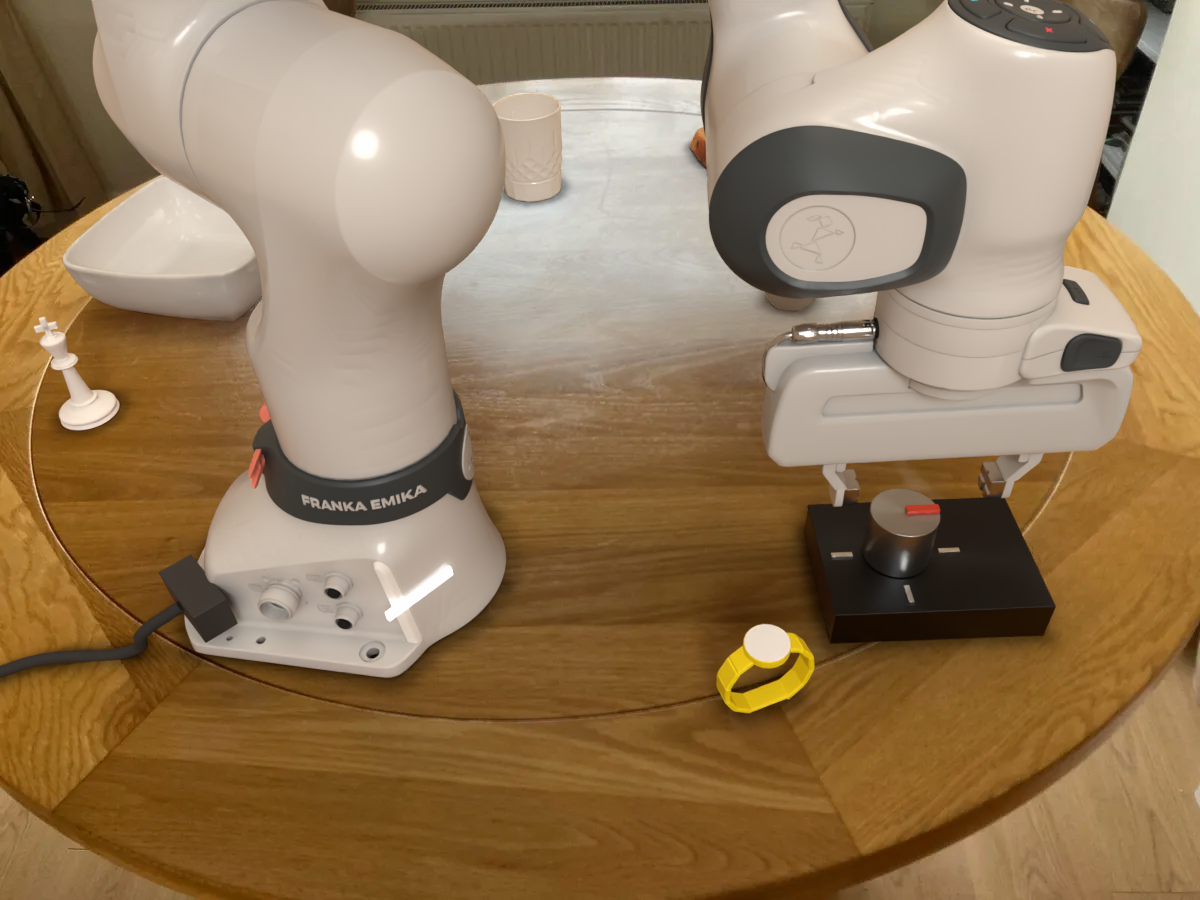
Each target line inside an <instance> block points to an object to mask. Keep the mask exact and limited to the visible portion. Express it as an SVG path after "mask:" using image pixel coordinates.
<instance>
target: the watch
mask: <svg viewBox="0 0 1200 900" xmlns="http://www.w3.org/2000/svg"><path fill="white" fill-rule="evenodd" d="M791 653H793V654H795V653H796V654H797V653H799V655H798V657H797V659H796V661H795V663H794V664H793V666H792V667H791V668H790V669H789V670H788V671H787V672H785V674H784V675H782V676H781V677H780V678H778V679H776V680H774V681H771V682H769V683H766V684H764V685H761V686H758V687H756V688H753V689H750V690H748V691H745V692H734V691H732V688H733V687H734V685H735V684H736V682H737V681H738V680H739V678H740V677H741V675H743V674H744V673H746V672H747V671H748V670H750V669H751V668H752V667H754V666H756V667H759V668H761V669H775V668H778V667H780V666H782V665H784V664H785V663H786V662H787V661H788V660H789V658H790V655H791ZM815 667H816V665H815V656H814V654H813V653H812V651H811V649H810V648H809V647H808V645H807V643H806V642H805V640H804V639H803V638H802V637H800V636H799V635H797V634H796V633H795V632H787V631H785V630H784V629H782V628H781V627H779V626H777V625H774V624H771V623H770V624H769V623H761V624H757V625H755V626H753V627H751V628H749V629H748V630H747V631H746V632H745V634H744V637H743V640H742V645H741V646H740V647H739V648H737V649H735V651H733V652H732V653H731V654H729V655H728V656H727V658H726V659H725V660H724V662H723V663H722V664H721V666H720V668H719V669H718V671H717V673H716V683H715V686H716V689H717V691H718V692H719V694H720V696H721V698H722V700H723V702H724V704H725V705H726V706H727V707H728V708H729V709H730V710H731V711H732V712H736V713H743V714H751V713H753V712H756V711H759V710H761V709H764V708H766V707H770V706H772V705H774V704H777V703H779V702H782V701H786V700H790V699H791V698H792V697H793V696H795V695H796V694H797V693H798V692H799V691H801V689H803V688H804V687H805V686H806V685H807V683H808V682H809V680H810V678H811V677H812V675H813V673H814V671H815Z"/></svg>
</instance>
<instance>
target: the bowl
mask: <svg viewBox="0 0 1200 900" xmlns="http://www.w3.org/2000/svg"><path fill="white" fill-rule="evenodd" d="M61 262H62V264H63V266H64V267H65V269H66V270H67V272H68V273H69V275H70V276H71V278H72V279H73V281H74V282H75V283H77V285H78V286H79V287H80V288H81V289H82V290H83V291H85V292H86V293H87V294H88V295H89V296H91V297H92V298H93V299H96V300H97V301H99V302H100V303H103V304H105V305H108V306H109V307H112V308H115V309H119V310H126V311H130V312H131V311H132V312H138V313H144V314H150V315H157V316H164V317H171V318H172V317H173V318H179V319H190V320H199V321H200V320H202V321H215V322H216V321H217V322H219V321H220V322H232V321H237V320H239V319H240V318H241V317H243V316H244V315H245V314H246V313H247V312H248V311H249V310H250V309H251V308H253V306H254V305H255V304H256V303H257V302H259V300H261V299H262V285H261V275H260V269H259V264H258V260H257V258H256V255H255V253H254V250H253V248H252V246H251V244H250V243H249V241H248V239H247V238H246V236H245V235H244V233H243V232H242V231H241V229H240V228H239V226H238V225H237V224H236V223H235V222H234V220H233V219H232V218H231V217H230V215H229V214H228V213H226V212H225V211H223V210H222V209H220V208H219V207H217V206H215V205H213V204H212V203H210V202H208V201H206V200H205V199H203V198H201V197H199V196H198V195H196V194H194V193H192V192H191V191H189V190H187V189H185V188H184V187H182V186H180V185H178V184H177V183H175V182H173V181H171V180H170V179H168V178H166V177H165V176H163V175H162V176H161V177H158V178H156V179H153V180H152V181H150V182H148V183H147V184H145V185H144V186H142V187H140V188H139V189H138V190H136V191H135V192H134V193H132V194H131V195H129V196H128V197H127V198H125V199H124V200H122V201H121V202H119V203H118V204H117V205H116V206H115V207H113V208H112V209H110V210H109V211H108V212H106V213H105V214H103V216H101V218H99V219H98V220H97V221H95V223H94V224H92V225H91V226H90V227H89V228H87V229H86V230H85V231H84V232H83V233H81V235H79V237H77V239H75V240H74V241H73V242H72V243H71V244H70V245H69V247H68V248H66V251H64V254H63V256H62V261H61Z"/></svg>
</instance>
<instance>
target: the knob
mask: <svg viewBox="0 0 1200 900" xmlns="http://www.w3.org/2000/svg"><path fill="white" fill-rule="evenodd" d="M870 502H871V505H870V510H869V515H868V519H867V524H866V529H865V534H864V539H863V544H862V553H863V556H864V558H865V560H866V561H867V563H868V564H869V565H870V566H871V567H872V568H874V569H875V570H877V571H878V572H880V573H882V574H885V575H888V576H892V577H898V578H904V577H911V576H914V575H917V574H919V573H920V572H922V571H923V570H924V569H925V568H926V567H927V565H928V562H929V559H930V555H931V551H932V548H933V544H934V541H935V537H936V533H937V530H938V526H939V523H940V508H939V505H938V504H935V503H934V502H933V501H932V498H929V497H928V496H927V495H926V494H923V493H921V492H919V491H916V490H913V489H909V488H899V487H898V488H889V489H886V490H882V491H881V492H879V493H878V494H876V495H875V497H873V498H872V500H871V501H870Z"/></svg>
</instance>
